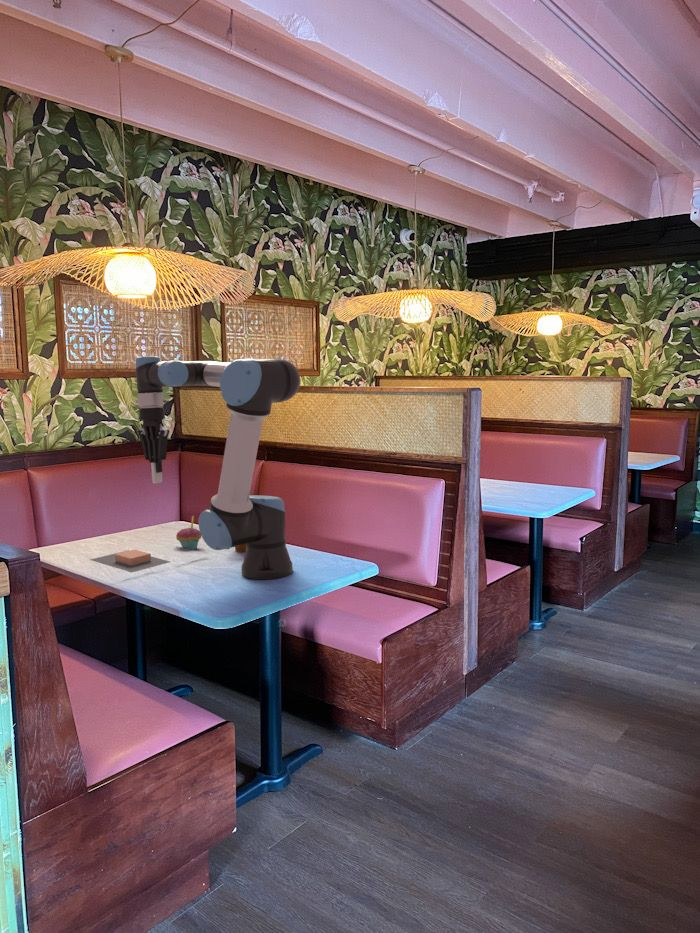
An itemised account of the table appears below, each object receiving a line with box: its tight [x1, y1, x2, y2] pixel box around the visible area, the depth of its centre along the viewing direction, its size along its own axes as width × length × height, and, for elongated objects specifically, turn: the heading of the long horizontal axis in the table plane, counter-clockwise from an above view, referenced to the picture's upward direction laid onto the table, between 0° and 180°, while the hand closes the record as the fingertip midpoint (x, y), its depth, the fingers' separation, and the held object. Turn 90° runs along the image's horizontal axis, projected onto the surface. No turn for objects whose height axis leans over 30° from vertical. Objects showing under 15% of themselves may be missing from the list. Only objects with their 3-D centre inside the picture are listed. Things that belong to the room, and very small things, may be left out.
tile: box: [114, 549, 152, 566], centre depth 217 cm, size 2×7×9 cm
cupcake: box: [175, 513, 202, 551], centre depth 235 cm, size 9×8×12 cm
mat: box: [89, 550, 171, 573], centre depth 218 cm, size 24×14×1 cm, turn 50°
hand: (157, 482), depth 214 cm, fingers closed
